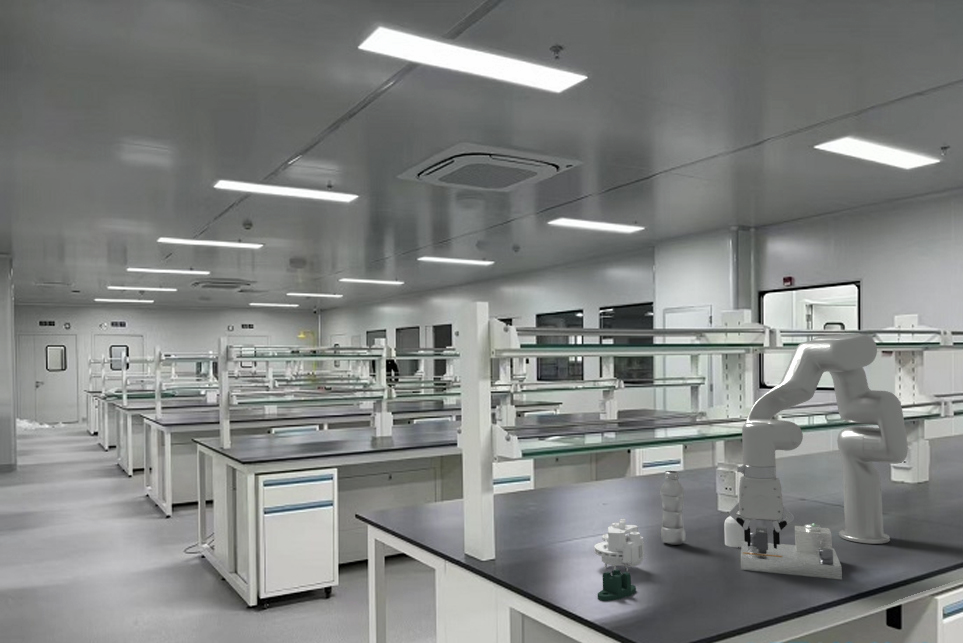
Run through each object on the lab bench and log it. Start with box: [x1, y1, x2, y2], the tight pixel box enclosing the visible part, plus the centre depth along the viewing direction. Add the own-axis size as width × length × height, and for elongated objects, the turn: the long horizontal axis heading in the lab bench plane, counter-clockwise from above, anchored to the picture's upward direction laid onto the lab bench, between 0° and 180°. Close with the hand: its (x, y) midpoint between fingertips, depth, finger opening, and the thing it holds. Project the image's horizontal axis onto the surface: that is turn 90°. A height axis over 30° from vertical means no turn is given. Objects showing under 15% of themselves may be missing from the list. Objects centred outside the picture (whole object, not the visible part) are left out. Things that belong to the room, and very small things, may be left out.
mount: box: [597, 568, 637, 602], centre depth 149 cm, size 11×4×5 cm, turn 126°
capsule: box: [723, 515, 745, 548], centre depth 188 cm, size 5×5×8 cm
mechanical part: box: [593, 518, 645, 572], centre depth 167 cm, size 11×12×12 cm
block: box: [755, 524, 769, 554], centre depth 168 cm, size 8×3×6 cm, turn 158°
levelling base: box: [740, 522, 843, 580], centre depth 169 cm, size 16×22×10 cm
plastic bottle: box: [659, 470, 687, 546], centre depth 190 cm, size 6×7×20 cm
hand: (762, 545), depth 168 cm, fingers open, 5 cm apart
